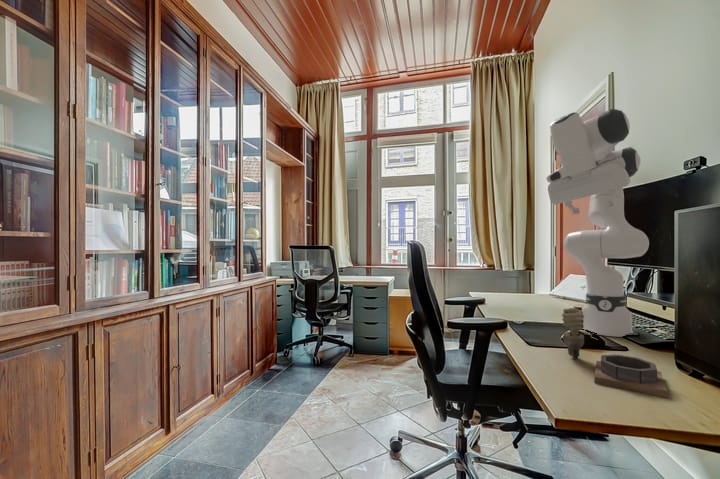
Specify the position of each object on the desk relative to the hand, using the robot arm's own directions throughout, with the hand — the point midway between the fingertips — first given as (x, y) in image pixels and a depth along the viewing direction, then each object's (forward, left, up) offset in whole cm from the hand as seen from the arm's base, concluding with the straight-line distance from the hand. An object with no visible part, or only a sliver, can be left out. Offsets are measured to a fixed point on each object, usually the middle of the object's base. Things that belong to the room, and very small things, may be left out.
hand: (593, 209), depth 96 cm
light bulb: (+6, -6, -45) cm, 45 cm away
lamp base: (+16, +6, -44) cm, 47 cm away
